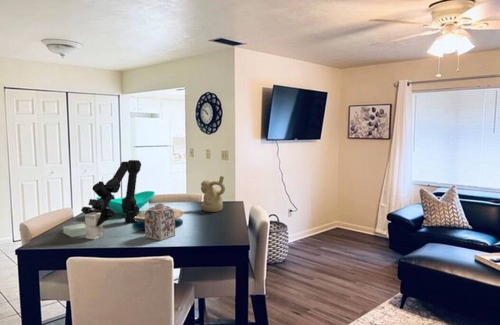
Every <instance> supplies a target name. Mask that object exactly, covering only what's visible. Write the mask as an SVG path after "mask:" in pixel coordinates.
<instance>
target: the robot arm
mask: <svg viewBox="0 0 500 325" xmlns="http://www.w3.org/2000/svg"><path fill="white" fill-rule="evenodd" d="M141 167H142V162H141V161H140V160H138V159H136V160H135V159H129V160H127V161H121V162H120V165H119V168H118V169H117V170H116V172H115V173H114V175H113V177H112V178H110V179H109V180H108V181H107V182H106V183H104V181H99V182H97V183H95V184H94V185H93V186H92V190H93V192H94V193H95V194H96V195H97V197H100V199H98V200H97V198H95V199H93V198H89V201H88V203H87V204H88V206H82V208H81V210H80V211H81V212H82V213H83V215H85V214H88V213H91V212H97V213H101V217H100V219H99V220H98V222H97V225H96V226H99V225H101V224H102V225H103V223H105V222H106V221H108V220H111V219H114V218H115V217H116V211H113V210H112V209H111V208H109V203H110V201H111V199H116V198H115V196H114V194H116V193H117V194H118V192H119V190H120V188H121V181H122V180H123V178H125V175H126V174H127V173H128V177H127V178H128V179H127V185H126V193H125V198H124V197H123V198H124V199H122V204H121V205H122V210H123V213H126V214H124V222H125V223H126V224H136V223H138V220H137V221H135V220H134V219H133V218H134V217H135V216H137V215H138V213H139V212H140V209H139V208H138V206H137V205H136V200H135V198H134V195H135V194H136V185H137V177H138V176H137V175H138V174H139V172H140V171H141ZM90 206H92V207H90Z"/></svg>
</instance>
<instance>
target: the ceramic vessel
mask: <svg viewBox="0 0 500 325" xmlns="http://www.w3.org/2000/svg"><path fill="white" fill-rule="evenodd" d="M224 179H225V177H224V176H221V175H220V176H219V180H218V181H215V180H213V181H209V180H208V179H207V180H206V179H205V180H203V181H202V182H201V183H200V186H201V187H200V190H201V192H202V193H203V194H204V195H203V200H202V203H201V205H200V208H201V210H202V211H203V212H204V211H205V212H209V213H216V212H217V213H218V212H221V211H222V210H223V208H224V207H223V206H224V204H223V203H224V202H223V199H222V195H223V194H224V193H225V191H226V187H225V184H224V183H223V182H224ZM215 185H216V186H219V187H220V188H221V189H220V190H219V191H218V190H217V189H216V188H214V186H215Z"/></svg>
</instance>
